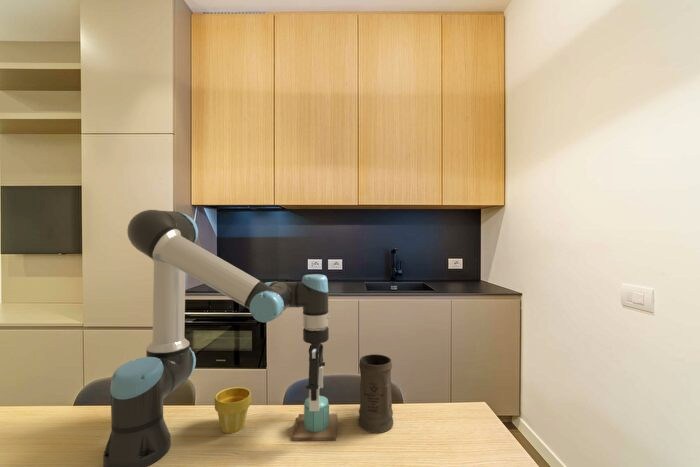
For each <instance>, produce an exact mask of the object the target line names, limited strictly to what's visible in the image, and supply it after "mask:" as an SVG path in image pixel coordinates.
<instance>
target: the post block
mask: <svg viewBox="0 0 700 467" xmlns="http://www.w3.org/2000/svg"><path fill="white" fill-rule="evenodd" d="M337 422H338V413H329V426H328V427H327V428H326V429H325V430H323V431H318V432H311V431H309V430H306V429H305V426H304V413H298V416H297V419H296V424H295V428H294V431H293V435H292V441H293V442H300V441H301V442H304V441H305V442H307V441H308V442H311V441H313V442H317V441H319V442H321V441H324V442H326V441H330V442H333V441H334V442H335V441H336V438H337V425H338V423H337Z"/></svg>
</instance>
